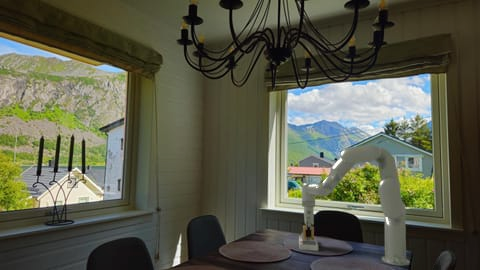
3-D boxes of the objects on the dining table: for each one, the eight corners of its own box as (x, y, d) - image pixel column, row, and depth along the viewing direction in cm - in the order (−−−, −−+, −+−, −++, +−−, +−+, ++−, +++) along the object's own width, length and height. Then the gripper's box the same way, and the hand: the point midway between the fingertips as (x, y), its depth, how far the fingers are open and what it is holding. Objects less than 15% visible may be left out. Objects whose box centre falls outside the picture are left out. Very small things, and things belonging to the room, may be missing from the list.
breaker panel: (318, 250, 173) (318, 241, 173) (299, 249, 175) (299, 240, 175) (315, 241, 193) (315, 233, 193) (298, 240, 194) (299, 232, 195)
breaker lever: (313, 241, 179) (313, 227, 180) (303, 241, 180) (303, 226, 181) (313, 240, 182) (313, 226, 182) (302, 240, 183) (303, 225, 183)
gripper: (316, 206, 174) (316, 240, 173) (314, 202, 190) (314, 233, 188) (302, 205, 175) (302, 239, 174) (301, 202, 191) (301, 232, 190)
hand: (308, 235), depth 181 cm, fingers closed on breaker lever, 2 cm apart
